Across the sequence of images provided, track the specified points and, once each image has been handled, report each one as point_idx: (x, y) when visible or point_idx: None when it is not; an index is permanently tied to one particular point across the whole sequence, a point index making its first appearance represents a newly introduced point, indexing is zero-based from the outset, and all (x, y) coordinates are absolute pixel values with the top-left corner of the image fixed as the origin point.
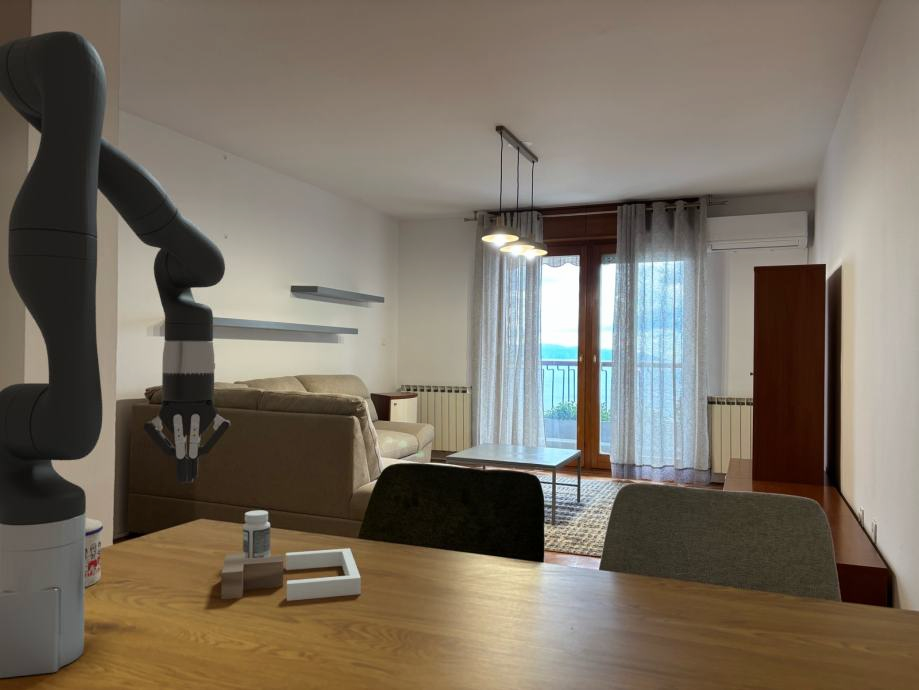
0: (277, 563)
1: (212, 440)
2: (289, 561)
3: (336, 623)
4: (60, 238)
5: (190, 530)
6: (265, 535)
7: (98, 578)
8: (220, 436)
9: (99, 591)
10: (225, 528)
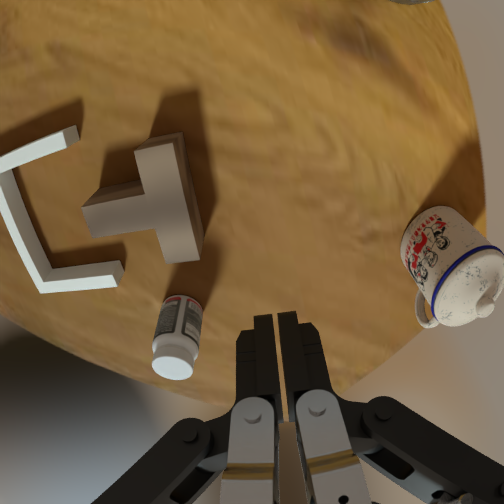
0: (91, 204)
1: (150, 479)
2: (110, 269)
3: (7, 52)
4: None
5: None
6: (157, 329)
7: (402, 241)
8: (110, 491)
9: (394, 199)
10: None
